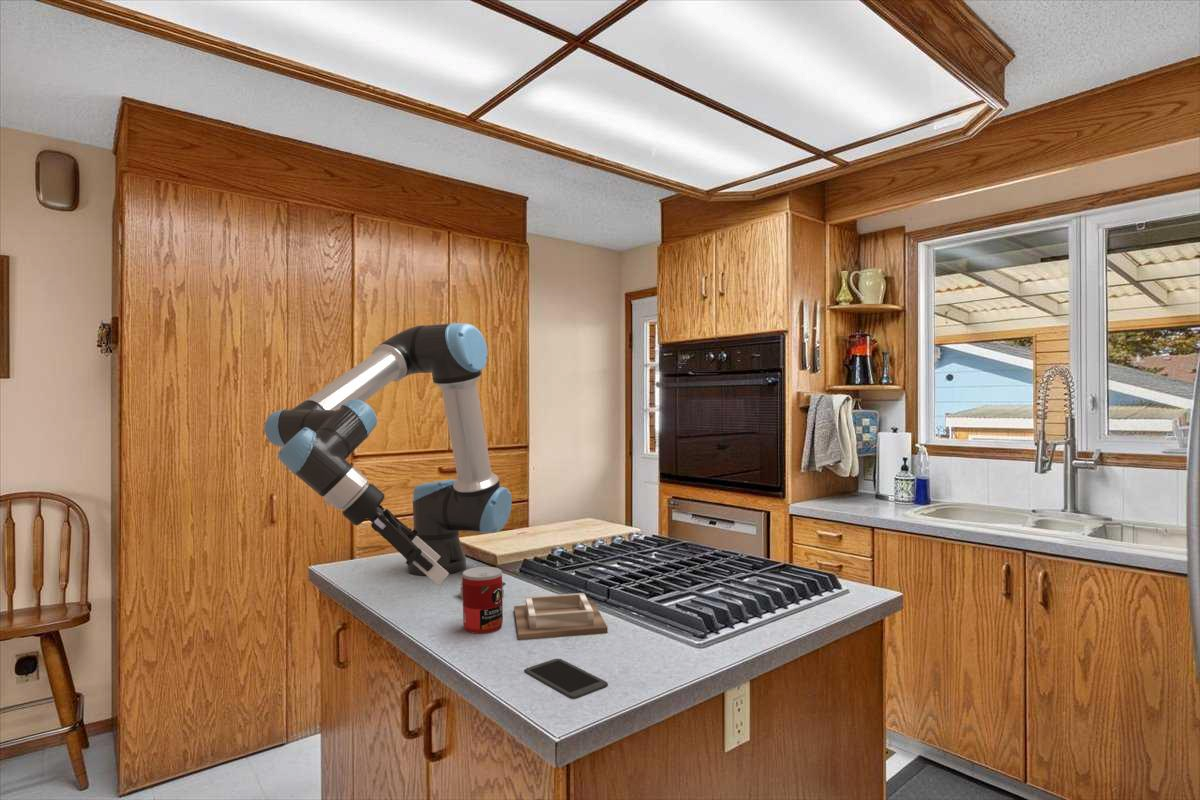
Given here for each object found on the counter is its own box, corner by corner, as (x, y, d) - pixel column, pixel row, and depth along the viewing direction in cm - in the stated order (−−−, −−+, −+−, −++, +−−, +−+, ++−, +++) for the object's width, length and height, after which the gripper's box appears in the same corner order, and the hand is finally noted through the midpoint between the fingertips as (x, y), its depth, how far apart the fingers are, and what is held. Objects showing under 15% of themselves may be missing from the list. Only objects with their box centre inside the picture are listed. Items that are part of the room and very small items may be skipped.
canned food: (485, 636, 127) (484, 579, 127) (454, 629, 131) (453, 573, 131) (511, 624, 134) (510, 569, 133) (481, 617, 138) (480, 564, 138)
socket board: (514, 610, 142) (513, 594, 142) (593, 605, 145) (592, 589, 145) (518, 639, 125) (518, 621, 125) (607, 632, 128) (607, 614, 128)
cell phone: (573, 702, 100) (572, 697, 100) (522, 673, 111) (522, 668, 111) (610, 687, 105) (610, 683, 105) (557, 661, 116) (557, 657, 116)
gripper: (342, 502, 135) (420, 569, 140) (337, 524, 111) (431, 604, 116) (369, 474, 136) (445, 541, 142) (371, 490, 113) (462, 570, 118)
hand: (439, 570), depth 129 cm, fingers open, 13 cm apart
